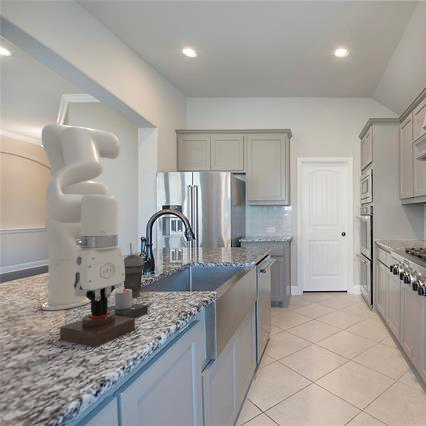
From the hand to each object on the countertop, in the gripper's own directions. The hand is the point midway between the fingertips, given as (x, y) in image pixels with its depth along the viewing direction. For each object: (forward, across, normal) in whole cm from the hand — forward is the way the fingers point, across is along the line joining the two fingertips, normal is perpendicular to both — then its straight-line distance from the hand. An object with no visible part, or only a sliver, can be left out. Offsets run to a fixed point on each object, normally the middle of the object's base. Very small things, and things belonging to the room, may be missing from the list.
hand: (99, 314), depth 72 cm
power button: (+2, 0, 0) cm, 2 cm away
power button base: (+5, 0, 0) cm, 5 cm away
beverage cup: (+5, +28, +23) cm, 37 cm away
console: (+5, +12, +7) cm, 15 cm away
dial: (+3, +12, +7) cm, 14 cm away
